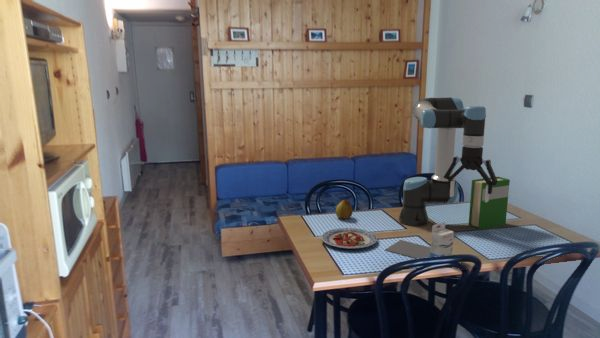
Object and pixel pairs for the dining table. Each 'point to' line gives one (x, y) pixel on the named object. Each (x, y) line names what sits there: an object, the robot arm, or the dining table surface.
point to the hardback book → (488, 204)
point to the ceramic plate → (349, 238)
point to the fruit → (344, 209)
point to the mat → (410, 249)
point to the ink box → (441, 241)
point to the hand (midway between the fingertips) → (468, 198)
